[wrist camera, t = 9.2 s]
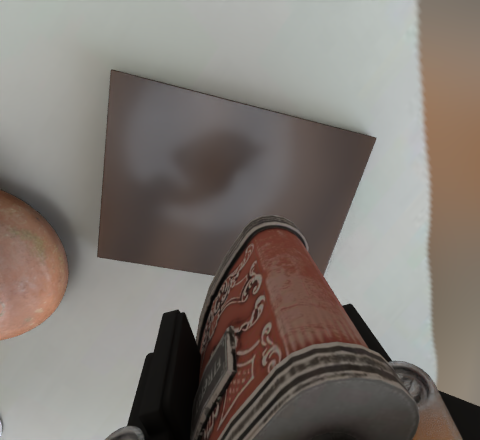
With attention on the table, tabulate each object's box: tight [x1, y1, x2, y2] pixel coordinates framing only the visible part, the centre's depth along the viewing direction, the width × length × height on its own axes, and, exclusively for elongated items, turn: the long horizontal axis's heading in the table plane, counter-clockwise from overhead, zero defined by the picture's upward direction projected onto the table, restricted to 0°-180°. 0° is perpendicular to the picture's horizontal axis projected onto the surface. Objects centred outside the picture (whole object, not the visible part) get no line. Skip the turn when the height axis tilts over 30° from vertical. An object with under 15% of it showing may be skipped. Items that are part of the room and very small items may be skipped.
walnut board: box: [97, 70, 376, 276], centre depth 26 cm, size 22×16×1 cm
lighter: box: [190, 215, 420, 440], centre depth 8 cm, size 8×3×10 cm, turn 158°
